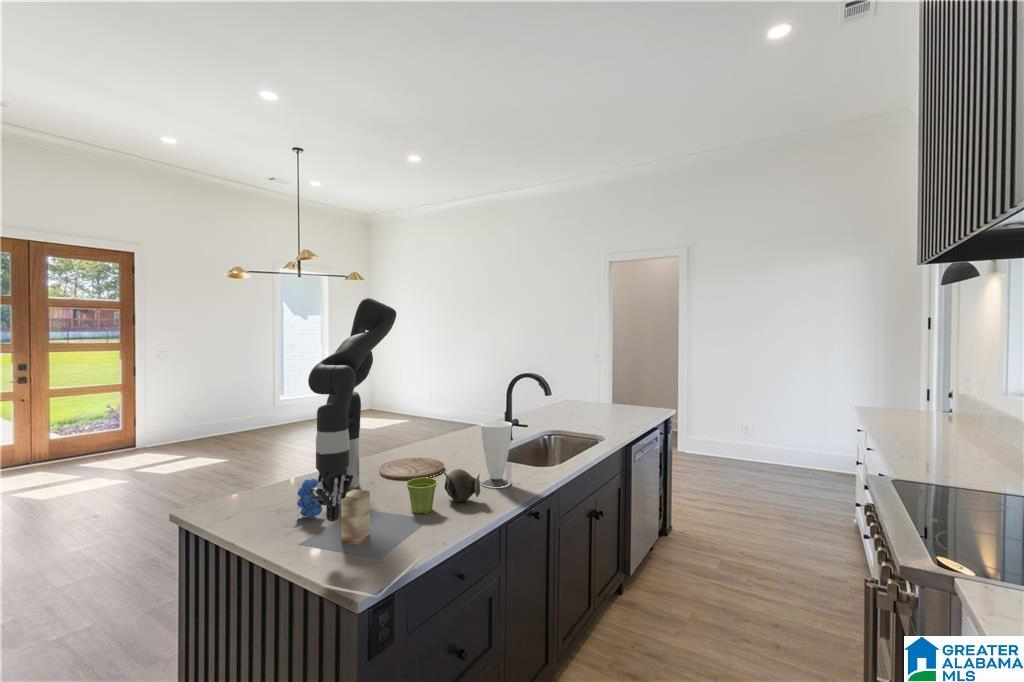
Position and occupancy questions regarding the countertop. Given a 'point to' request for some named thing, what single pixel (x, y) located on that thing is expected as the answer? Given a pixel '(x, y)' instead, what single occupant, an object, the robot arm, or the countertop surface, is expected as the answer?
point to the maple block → (355, 517)
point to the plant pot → (421, 494)
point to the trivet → (411, 468)
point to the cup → (496, 450)
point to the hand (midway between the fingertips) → (332, 519)
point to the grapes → (308, 500)
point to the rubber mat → (382, 539)
